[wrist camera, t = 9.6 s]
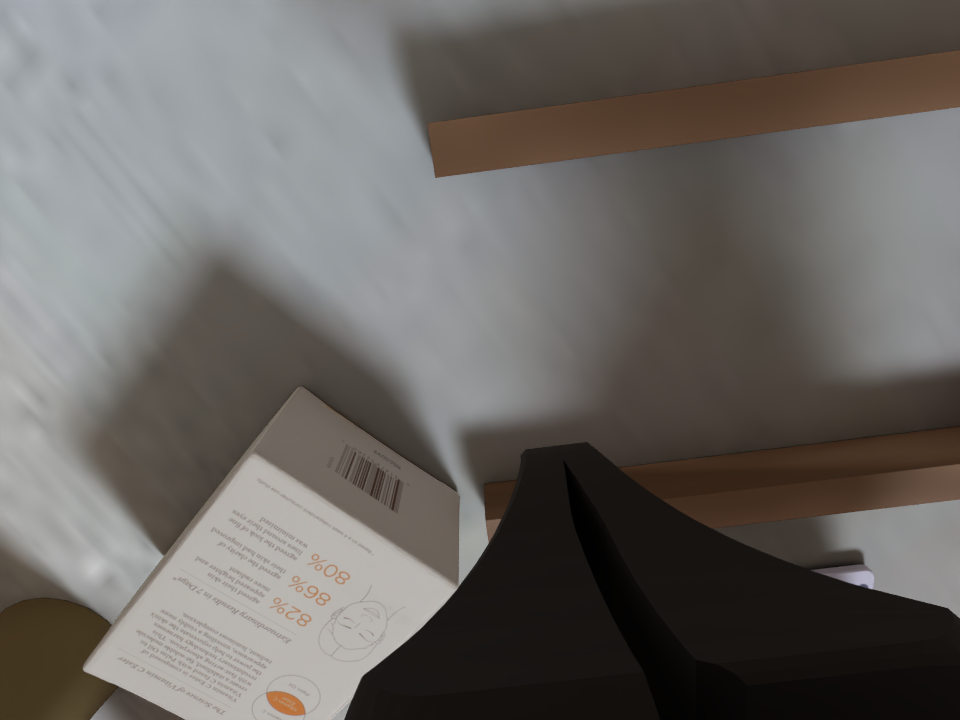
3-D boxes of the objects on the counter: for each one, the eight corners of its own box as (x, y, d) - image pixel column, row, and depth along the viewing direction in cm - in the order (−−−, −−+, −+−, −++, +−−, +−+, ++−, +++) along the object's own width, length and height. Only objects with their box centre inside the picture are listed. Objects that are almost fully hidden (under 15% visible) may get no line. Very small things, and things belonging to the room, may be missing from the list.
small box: (301, 379, 21) (158, 558, 24) (248, 450, 16) (71, 671, 19) (464, 495, 23) (316, 650, 26) (465, 593, 18) (278, 776, 20)
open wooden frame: (1007, 453, 23) (1068, 486, 21) (488, 515, 24) (490, 554, 21) (1090, 38, 18) (1184, 19, 16) (432, 128, 19) (427, 123, 16)
